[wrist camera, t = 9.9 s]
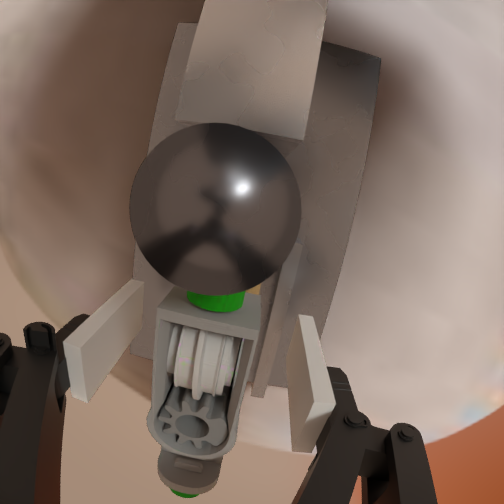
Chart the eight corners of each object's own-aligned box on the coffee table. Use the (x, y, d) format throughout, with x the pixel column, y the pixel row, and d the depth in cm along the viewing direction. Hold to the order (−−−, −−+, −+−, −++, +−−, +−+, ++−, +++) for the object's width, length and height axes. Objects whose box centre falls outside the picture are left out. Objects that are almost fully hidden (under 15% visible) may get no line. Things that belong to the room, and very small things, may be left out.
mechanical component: (191, 372, 20) (148, 492, 10) (216, 219, 17) (154, 277, 8) (235, 381, 20) (215, 508, 10) (270, 230, 17) (272, 303, 8)
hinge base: (182, 29, 16) (91, -100, 3) (375, 63, 16) (493, -42, 3) (135, 346, 21) (46, 477, 9) (301, 381, 21) (320, 540, 9)
